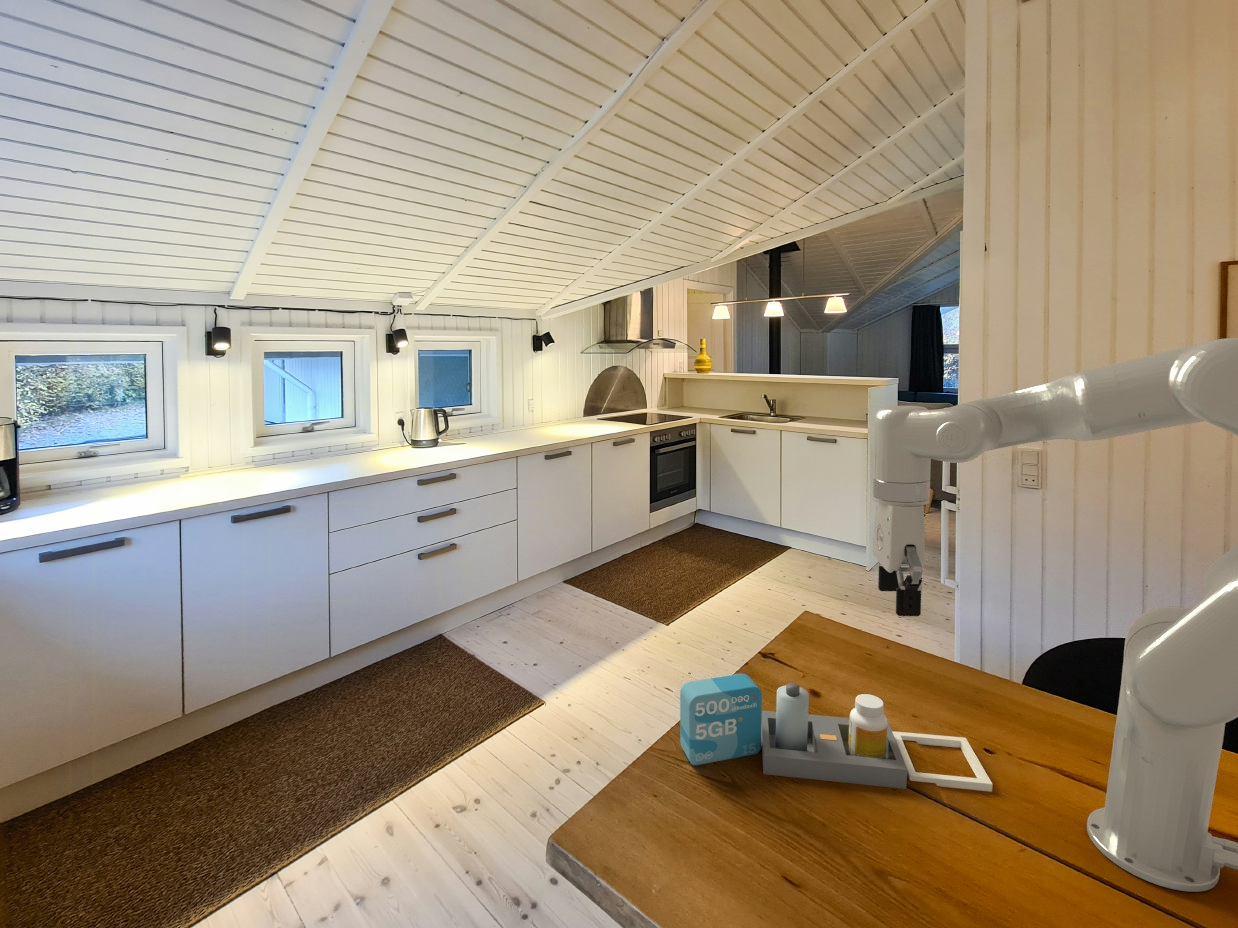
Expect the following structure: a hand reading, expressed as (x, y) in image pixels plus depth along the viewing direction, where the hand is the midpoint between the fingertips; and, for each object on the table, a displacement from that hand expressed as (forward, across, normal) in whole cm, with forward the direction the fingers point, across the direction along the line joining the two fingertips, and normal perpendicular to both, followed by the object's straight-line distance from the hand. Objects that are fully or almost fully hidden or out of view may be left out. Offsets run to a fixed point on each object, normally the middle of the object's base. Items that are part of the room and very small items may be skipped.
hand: (898, 602), depth 93 cm
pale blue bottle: (+24, +2, -16) cm, 29 cm away
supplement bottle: (+25, +2, -5) cm, 25 cm away
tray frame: (+25, +1, +6) cm, 26 cm away
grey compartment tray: (+25, +2, -10) cm, 27 cm away
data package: (+25, +3, -27) cm, 37 cm away
